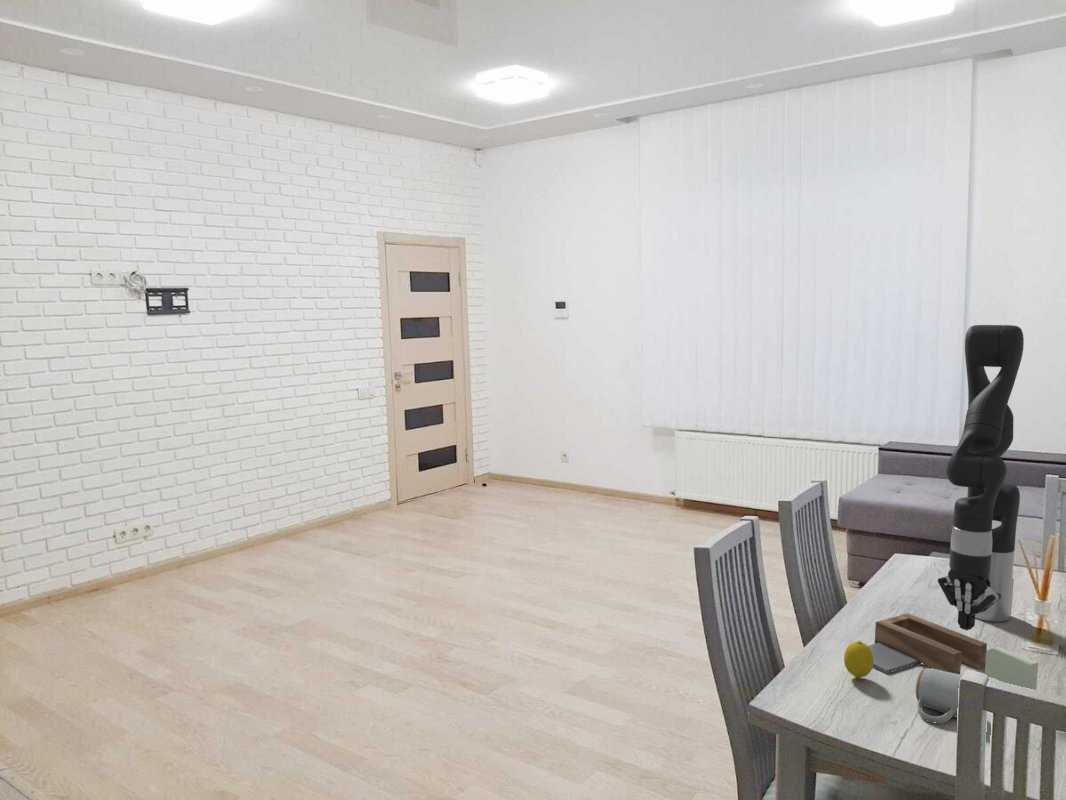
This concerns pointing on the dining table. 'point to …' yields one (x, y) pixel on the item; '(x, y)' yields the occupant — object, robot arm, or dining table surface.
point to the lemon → (858, 659)
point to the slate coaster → (889, 658)
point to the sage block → (1011, 668)
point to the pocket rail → (930, 643)
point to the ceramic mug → (938, 693)
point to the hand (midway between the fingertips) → (965, 628)
